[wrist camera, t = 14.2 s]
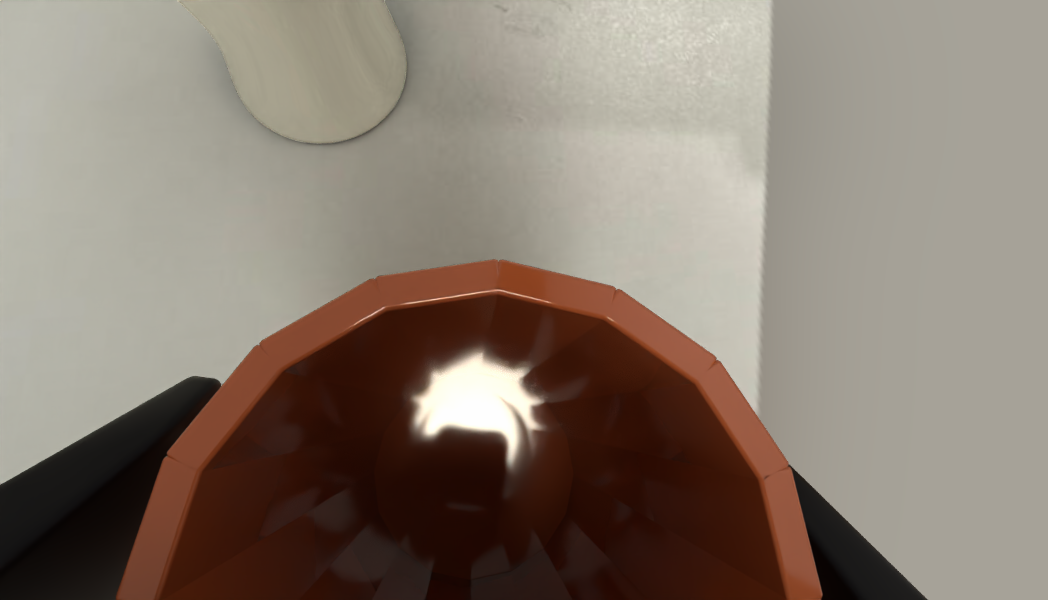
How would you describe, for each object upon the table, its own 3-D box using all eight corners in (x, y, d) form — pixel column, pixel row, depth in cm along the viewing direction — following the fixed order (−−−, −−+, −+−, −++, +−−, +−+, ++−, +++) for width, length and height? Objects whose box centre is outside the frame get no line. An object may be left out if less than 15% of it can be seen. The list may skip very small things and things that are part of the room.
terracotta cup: (499, 632, 17) (580, 1216, 5) (319, 500, 18) (-58, 721, 5) (620, 443, 19) (929, 504, 6) (452, 323, 19) (418, 145, 6)
